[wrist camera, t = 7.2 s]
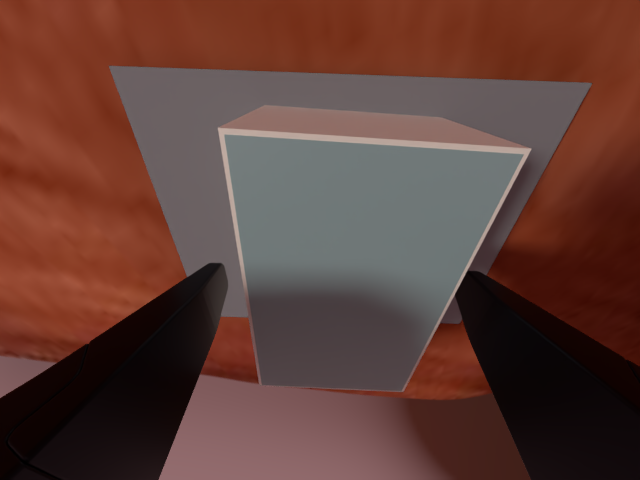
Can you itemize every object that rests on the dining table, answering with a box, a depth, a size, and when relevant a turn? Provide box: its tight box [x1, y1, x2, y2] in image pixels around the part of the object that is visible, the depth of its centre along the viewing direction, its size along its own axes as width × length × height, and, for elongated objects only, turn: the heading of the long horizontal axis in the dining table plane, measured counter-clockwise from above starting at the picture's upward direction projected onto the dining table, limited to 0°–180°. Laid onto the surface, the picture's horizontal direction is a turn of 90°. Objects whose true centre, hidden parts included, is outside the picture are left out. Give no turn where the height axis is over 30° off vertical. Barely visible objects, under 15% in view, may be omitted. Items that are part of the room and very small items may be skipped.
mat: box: [109, 66, 592, 324], centre depth 10 cm, size 14×11×1 cm
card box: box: [218, 105, 531, 392], centre depth 8 cm, size 9×6×4 cm, turn 177°
